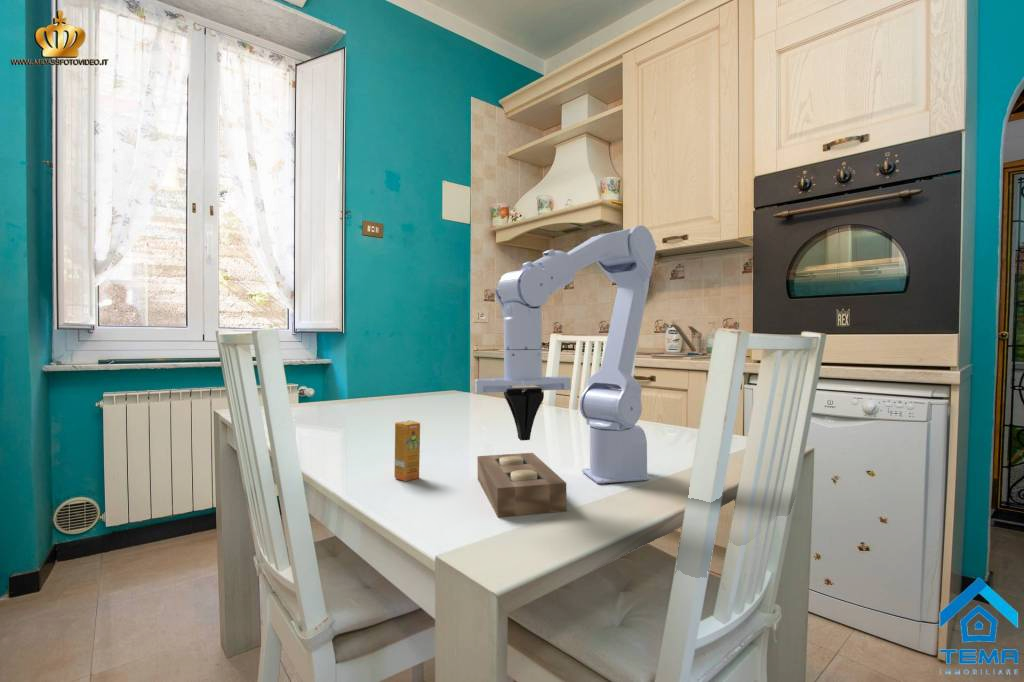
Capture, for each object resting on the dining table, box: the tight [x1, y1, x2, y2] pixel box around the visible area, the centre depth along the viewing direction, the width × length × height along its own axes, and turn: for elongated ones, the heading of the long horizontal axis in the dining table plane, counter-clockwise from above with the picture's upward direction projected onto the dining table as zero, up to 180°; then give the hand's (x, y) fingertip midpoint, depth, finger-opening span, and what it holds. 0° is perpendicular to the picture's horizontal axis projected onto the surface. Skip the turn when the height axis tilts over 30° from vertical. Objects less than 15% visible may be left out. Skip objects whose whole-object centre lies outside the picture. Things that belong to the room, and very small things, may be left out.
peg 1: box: [499, 456, 523, 465], centre depth 84 cm, size 4×4×4 cm
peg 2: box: [511, 470, 537, 481], centre depth 75 cm, size 4×4×4 cm
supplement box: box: [394, 420, 421, 482], centre depth 89 cm, size 3×3×10 cm
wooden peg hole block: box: [477, 452, 568, 518], centre depth 80 cm, size 10×19×4 cm, turn 12°
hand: (523, 439), depth 76 cm, fingers closed
